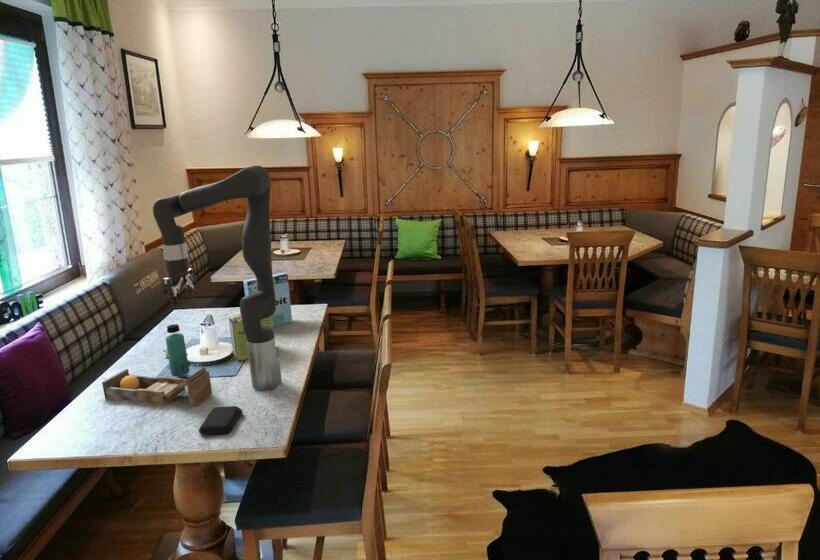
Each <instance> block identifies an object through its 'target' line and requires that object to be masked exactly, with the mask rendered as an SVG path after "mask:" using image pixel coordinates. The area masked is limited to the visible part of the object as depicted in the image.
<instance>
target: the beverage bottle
mask: <svg viewBox="0 0 820 560" xmlns="http://www.w3.org/2000/svg"><path fill="white" fill-rule="evenodd" d="M166 329H167V333H168V335H167V336H166V337H165V345H166V349H167V350H168V356H169V359H168V362H169V371H170V373H171V377H174V378H180V377H184V376H186V375H188V374H189V373H190V363H189V360H188V355H187V354H188V353H187V346H186V342H185V336H184V334H183V333H181V332H180V326H179V324H175V323H173V324H170V325H167V327H166Z"/></svg>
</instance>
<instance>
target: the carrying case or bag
mask: <svg viewBox="0 0 820 560" xmlns="http://www.w3.org/2000/svg"><path fill="white" fill-rule="evenodd" d="M242 416H244V412H243V409H241V408H240V407H238V406H236V405H234V406H233V405H232V406H231V405H230V406H229V405H228V406H215V407H213V408H212V409H211V410H210V411H209V413H208V414H207V416H206V417H205V419H204V420H203V422H202V424H201V425H200V426H199V429H198V433H199V434H201V435H202V436H217V435H218V436H219V435H220V436H221V435H227V434H229V433H230V432H231V431H232V430H233V428H234V427H235V425H236V423H237V421H238V419H239V418H240V417H242Z"/></svg>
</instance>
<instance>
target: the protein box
mask: <svg viewBox="0 0 820 560" xmlns="http://www.w3.org/2000/svg"><path fill="white" fill-rule="evenodd" d="M260 321H261V326H263V327H270V328H272V329H273V331H274V332H275V330H274V327H273V320H272V316H270V317H268V318H265V319H262V320H260ZM228 323H229V329H230V338H231V339H230V340H231V346H232V347H231V348H232V353H233V352H234V353H233V355H234V357H235V359H236V361H237V362H240V361H239V360H241V361H245V360H249V355H248V347H247V339H246V335H245V333H244V330H243V324H242V319H241V314H236V315H232V316H228ZM274 339H275V337H274ZM275 340H276V339H275ZM275 348H277V347H276V346H275Z"/></svg>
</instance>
